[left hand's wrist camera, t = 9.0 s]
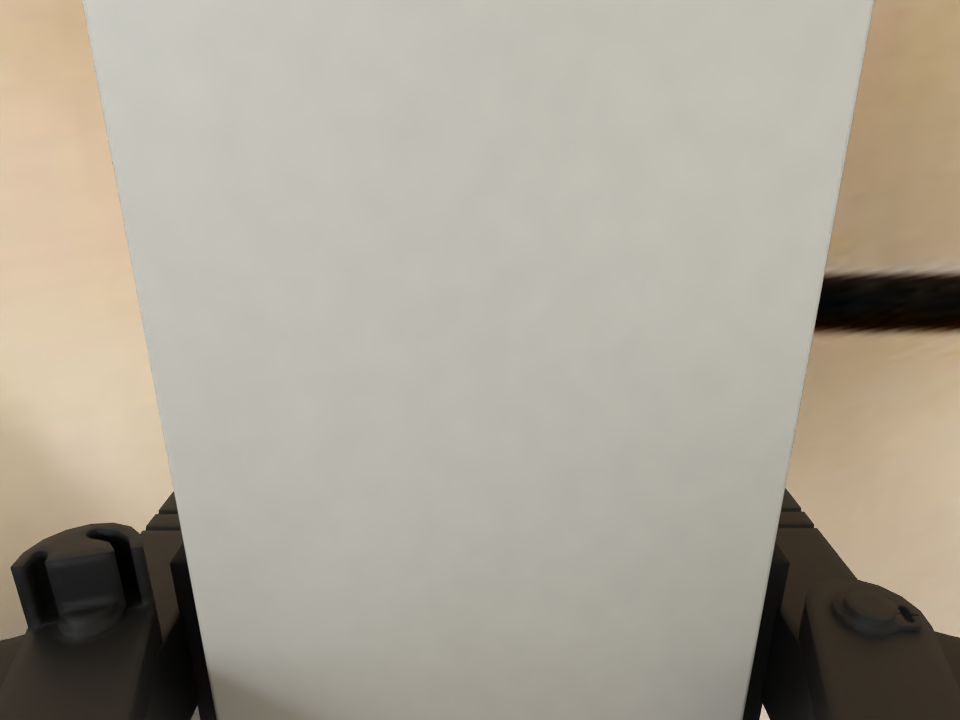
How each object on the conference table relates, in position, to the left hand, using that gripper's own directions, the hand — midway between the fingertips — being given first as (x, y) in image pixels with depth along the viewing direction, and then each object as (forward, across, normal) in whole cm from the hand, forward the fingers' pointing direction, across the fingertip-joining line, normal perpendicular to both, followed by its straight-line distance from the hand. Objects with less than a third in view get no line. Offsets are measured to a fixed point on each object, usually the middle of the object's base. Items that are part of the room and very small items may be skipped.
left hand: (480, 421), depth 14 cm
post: (0, 0, -34) cm, 34 cm away
